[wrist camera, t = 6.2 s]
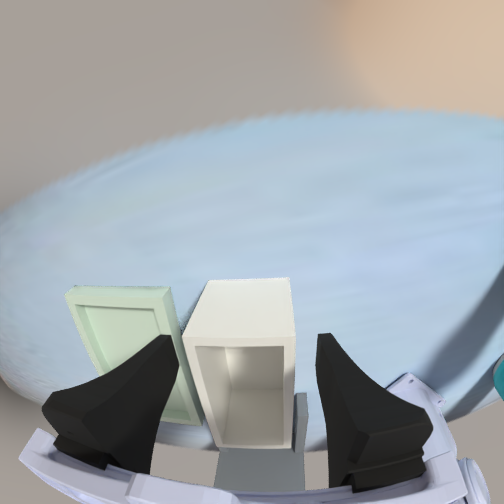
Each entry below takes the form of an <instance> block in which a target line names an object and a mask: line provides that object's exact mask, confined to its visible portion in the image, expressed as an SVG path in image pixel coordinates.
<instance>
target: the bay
mask: <svg viewBox="0 0 504 504" xmlns="http://www.w3.org/2000/svg"><path fill="white" fill-rule="evenodd" d="M308 416H309V415H308V405H307V394H306V393H297V396H296V413H295V429H294V433H292V440H291V448H282V449H249V448H228V447H218V448H219V451H220V454H219V459H218V465H217V470H216V476H215V482H214V487H216V488H220V489H224V490H236V491H256V492H285V491H305V476H304V453H303V452H304V445H305V439H306V431H307V424H308Z"/></svg>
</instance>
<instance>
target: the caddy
mask: <svg viewBox="0 0 504 504" xmlns="http://www.w3.org/2000/svg"><path fill="white" fill-rule="evenodd" d="M182 339H183V343H184V347H185V351H186V354H187V358H188V361H189V365H190V368H191V372H192V375H193V379H194V382H195V385H196V388H197V392H198V395H199V398H200V401H201V404H202V407H203V410H204V413H205V416H206V419H207V422H208V425H209V428H210V430H211V433H212V436H213V439H214V441H215V444H216V447H228V448H249V449H282V448H291V440H292V424H293V405H294V381H295V344H296V335H295V325H294V316H293V306H292V297H291V289H290V280H289V277H287V278H263V279H234V280H208V282H207V284H206V286H205V288H204V291H203V293H202V295H201V297H200V299H199V301H198V303H197V305H196V307H195V309H194V312H193V314H192V316H191V318H190V320H189V322H188V324H187V327H186V329H185V331H184V333H183V335H182Z"/></svg>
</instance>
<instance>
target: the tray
mask: <svg viewBox="0 0 504 504" xmlns="http://www.w3.org/2000/svg"><path fill="white" fill-rule="evenodd" d="M64 295H65V298H66V301H67V304H68V306H69V309H70V312H71V314H72V317H73V319H74V322H75V324H76V327H77V329H78V332H79V334H80V336H81V339H82V341H83V343H84V345H85V347H86V350H87V352H88V354H89V356H90V358H91V360H92V362H93V364H94V366H95V368H96V370H97V372H98V374H99V376H102V375H104V374H106V373H108V372H109V371H111V370H113V369H114V368H116V367H118V366H119V365H121V364H122V363H123V362H125V361H126V360H128V359H129V358H130V357H132V356H133V355H134V354H136V353H137V352H138V351H140V350H141V349H142V348H143V347H145V346H146V345H147V344H148V343H150V342H151V341H152V340H153V339H155V338H156V337H157V336H159V335H160V334H164V335H171V337H172V340H173V344H174V347H175V351H176V354H177V357H178V361H179V364H180V365H179V370H178V374H177V378H176V381H175V384H174V386H173V389H172V391H171V394H170V396H169V399H168V401H167V403H166V406H165V408H164V411H163V413H162V416H161V419H160V421H165V422H171V423H178V424H186V425H195V426H202V424H203V420H204V416H205V413H204V410H203V407H202V404H201V401H200V398H199V395H198V392H197V388H196V385H195V382H194V379H193V375H192V372H191V368H190V365H189V361H188V358H187V354H186V351H185V347H184V343H183V339H182V335H181V331H180V327H179V323H178V319H177V315H176V311H175V306H174V302H173V297H172V293H171V288H170V287H116V286H74V287H73V288H71V289H70V290H69V291H68V292H67V293H65V294H64Z"/></svg>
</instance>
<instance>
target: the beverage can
mask: <svg viewBox="0 0 504 504" xmlns="http://www.w3.org/2000/svg"><path fill="white" fill-rule="evenodd" d="M493 381H494V385H495V388H496V390H497V392H498V393H499V395H500V396H501V398H502V399H503V401H504V354H503V355H502V356H501V357H500V359H499V360H498V362H497V363H496V365H495V367H494V369H493Z"/></svg>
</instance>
